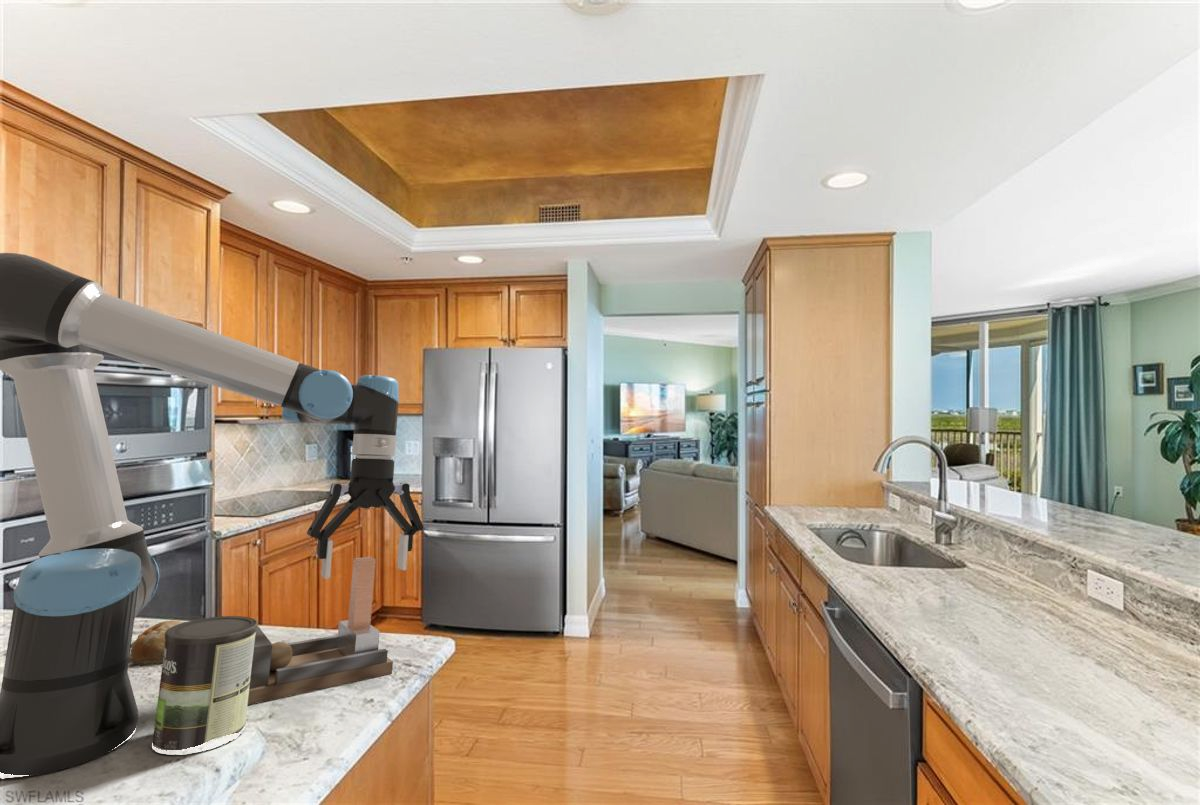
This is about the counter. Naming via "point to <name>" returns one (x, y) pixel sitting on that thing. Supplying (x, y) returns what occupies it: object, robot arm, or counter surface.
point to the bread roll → (151, 644)
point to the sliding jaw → (359, 611)
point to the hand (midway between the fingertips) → (365, 573)
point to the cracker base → (308, 667)
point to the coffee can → (204, 681)
